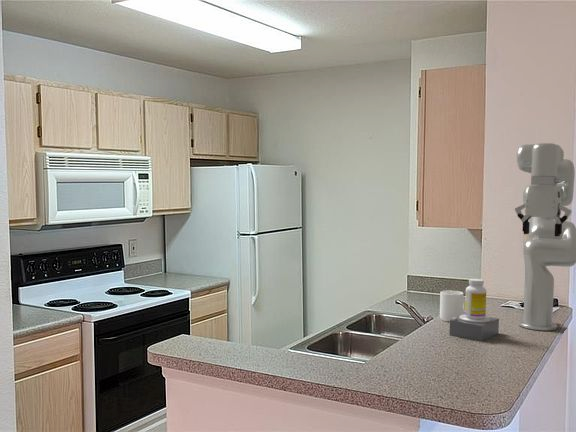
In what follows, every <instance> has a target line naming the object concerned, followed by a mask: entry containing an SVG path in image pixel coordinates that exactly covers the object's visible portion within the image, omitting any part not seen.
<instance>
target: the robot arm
mask: <svg viewBox="0 0 576 432" xmlns="http://www.w3.org/2000/svg"><path fill="white" fill-rule="evenodd" d="M564 153H565V152H564V149H563V148H562V147H561V146H560V145H559V144H556V143H550V142H549V143H548V142H546V143H545V142H544V143H542V142H541V143H535V144H523V145H520V146H519V147H518V149H517V153H516V163H517V166H518V169H519V170H520V171H523V172H524V173H529V174H530V175H531V177H530V184H529V185H527V186H526V187H524V189H523V192H522V193H523V194H522V199H523V204H521V205H519V206H517V207H515V208H514V211H515V214H516V215H517V217H518V218H519V220H520V221H521V222H522V232H523V235H528V237H529V239H527V240H526V241H525V242H524V244H523V248H522V249H523V250H522V251H523V258H524V259H523V260H524V295H523V296H524V297H523V318H522V319H520V320H518V325H519V326H520V327H522V328H525V329H528V330H535V331H554V330H557V328H558V324H556V323H555V322H553V319H554V318H553V314H554V312H553V310H554V291H555V290H554V289H555V278H554V275H553V274H552V272H551V271H550V270H549V268H547V267H548V266H549V267H564V268H567V267H570V268H571V267H573V266H575V265H576V225H575V224H574V223H573V222H571V221H568V219H569V217H570V216H571V214H572V212H573V211H572V209H570V208H568V207H566V206H570V205H571V204H572V202H573V201H574V191H575V190H574V189H575V173H576V172H575V171H576V169H575V165H574V163H573V161H572V160H571V159H567V158H565V155H564ZM564 158H565V159H564ZM522 210H524V214H525V215H524V214H523V213H522ZM562 212H564V215H563V216H561V215H562Z"/></svg>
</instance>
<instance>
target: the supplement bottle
mask: <svg viewBox="0 0 576 432" xmlns="http://www.w3.org/2000/svg"><path fill="white" fill-rule="evenodd" d="M484 281H485V280H484V279H481V278H470V279H468V284H469V286H466V288H465V296H464V297H465V311H464V314H465V316H466V317H467V318H470V319H484V318H485V317H487V316H486V315H487V314H486V313H487V311H486V310H487V309H486V308H487V290H486V288H485V287H484Z"/></svg>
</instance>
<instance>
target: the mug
mask: <svg viewBox="0 0 576 432" xmlns="http://www.w3.org/2000/svg"><path fill="white" fill-rule="evenodd" d="M439 293H440V294H439V319H440V320H441V321H443V322H446V321H449V322H448V323H450V320H452V319H453V317H456V318H457V317H459V316H460V315H464V313H465V296H464V292H463V291H459V290H441V291H440V292H439Z"/></svg>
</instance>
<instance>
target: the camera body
mask: <svg viewBox="0 0 576 432" xmlns="http://www.w3.org/2000/svg"><path fill="white" fill-rule="evenodd" d="M499 322H500V318H497V317H492V316H486V317H485V318H484V319H470V318H467V317H466V316H465V313H463V315H460V316H459V317H457V318H456V317H453V319H452V320H450V322H449V336H454V337H458V338H463V339H468V340H473V341H478V342H483V341H484V340H487V339H490V338H491V337H493V336H495V335H496V336H497V335H498V334H499V329H500V327H499V325H500V323H499Z"/></svg>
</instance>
